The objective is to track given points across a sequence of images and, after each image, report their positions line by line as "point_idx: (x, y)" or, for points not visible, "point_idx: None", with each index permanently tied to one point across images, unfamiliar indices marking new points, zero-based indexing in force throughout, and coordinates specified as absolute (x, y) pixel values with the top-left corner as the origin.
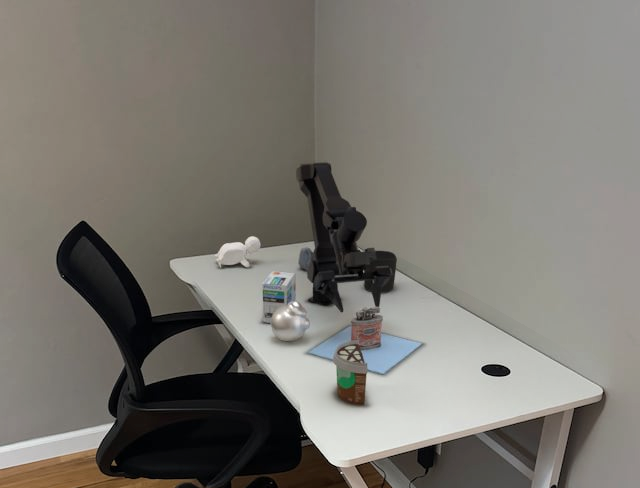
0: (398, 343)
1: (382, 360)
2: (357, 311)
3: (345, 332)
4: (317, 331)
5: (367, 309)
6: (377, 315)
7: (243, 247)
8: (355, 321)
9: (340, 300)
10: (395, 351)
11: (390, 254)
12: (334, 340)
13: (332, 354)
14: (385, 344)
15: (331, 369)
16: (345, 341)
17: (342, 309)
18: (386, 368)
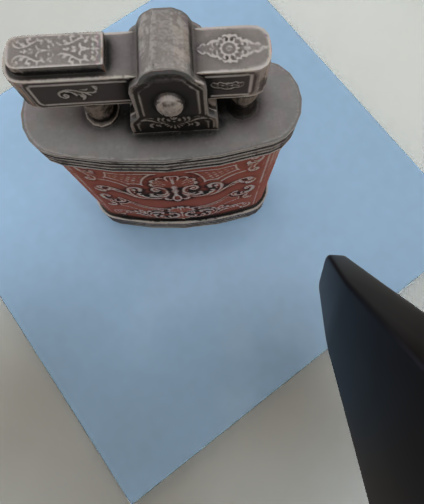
0: (11, 184)
1: None
2: (263, 44)
3: (205, 408)
4: (348, 495)
5: (160, 10)
6: (49, 136)
7: None
8: (277, 79)
9: (383, 314)
10: None
11: None
12: (303, 322)
13: (367, 169)
14: (76, 193)
15: (408, 55)
16: (252, 290)
17: (339, 259)
18: None
